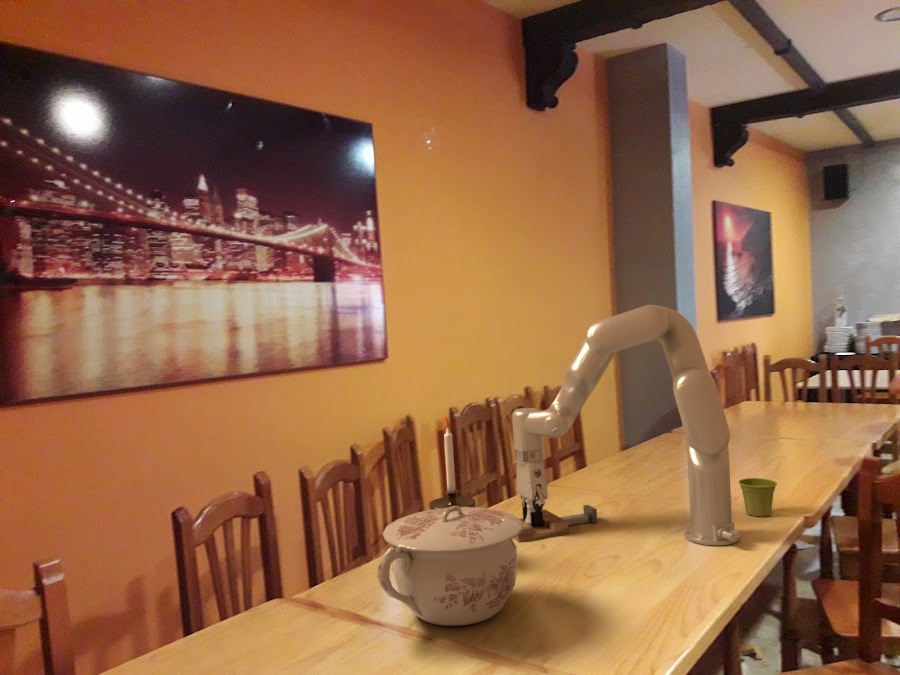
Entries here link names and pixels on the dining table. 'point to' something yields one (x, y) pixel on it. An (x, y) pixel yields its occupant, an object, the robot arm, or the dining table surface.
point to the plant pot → (758, 495)
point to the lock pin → (582, 516)
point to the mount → (544, 528)
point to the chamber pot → (452, 563)
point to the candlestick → (450, 480)
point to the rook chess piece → (528, 518)
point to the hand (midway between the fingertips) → (533, 523)
